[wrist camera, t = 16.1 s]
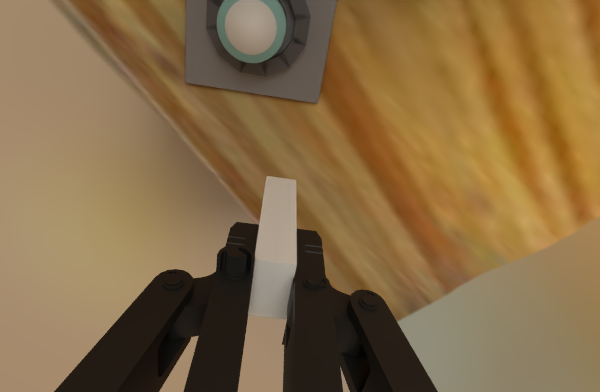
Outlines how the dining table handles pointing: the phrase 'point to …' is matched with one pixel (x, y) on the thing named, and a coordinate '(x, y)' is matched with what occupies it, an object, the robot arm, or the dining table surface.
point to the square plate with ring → (270, 73)
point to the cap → (252, 28)
